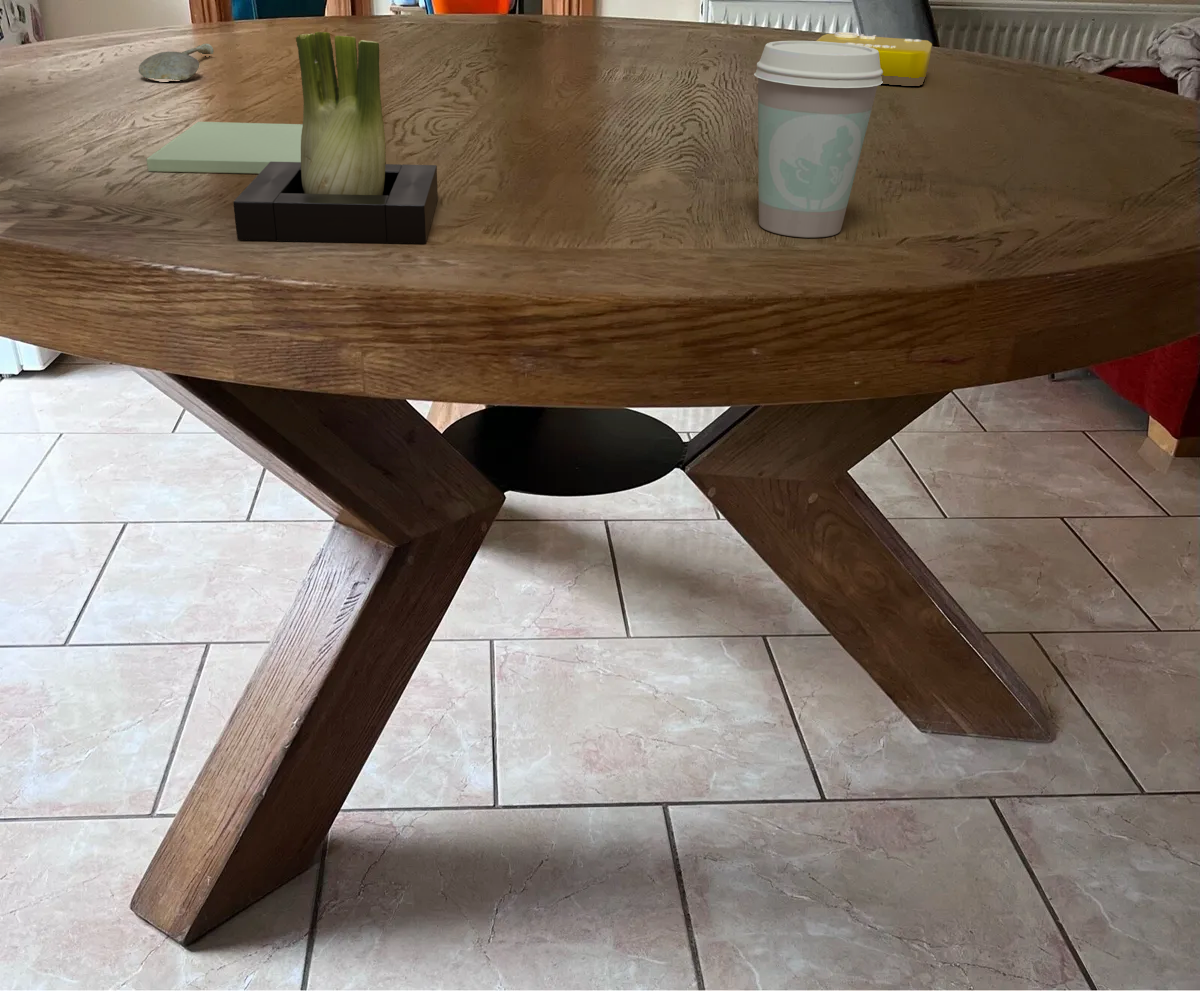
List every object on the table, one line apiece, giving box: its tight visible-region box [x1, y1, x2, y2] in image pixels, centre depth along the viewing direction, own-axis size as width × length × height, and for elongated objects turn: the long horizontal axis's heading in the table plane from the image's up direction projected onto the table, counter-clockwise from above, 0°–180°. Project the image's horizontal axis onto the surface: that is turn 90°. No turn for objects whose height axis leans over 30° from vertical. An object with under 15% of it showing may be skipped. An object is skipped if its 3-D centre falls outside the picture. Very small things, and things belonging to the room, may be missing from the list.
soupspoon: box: [137, 43, 215, 81], centre depth 135 cm, size 22×3×7 cm
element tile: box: [815, 31, 933, 78], centre depth 150 cm, size 15×15×5 cm
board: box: [145, 121, 303, 175], centre depth 95 cm, size 16×16×1 cm
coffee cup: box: [753, 40, 883, 239], centre depth 77 cm, size 9×9×12 cm
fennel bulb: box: [295, 31, 387, 195], centre depth 75 cm, size 6×5×12 cm
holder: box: [232, 162, 439, 245], centre depth 77 cm, size 12×12×2 cm
